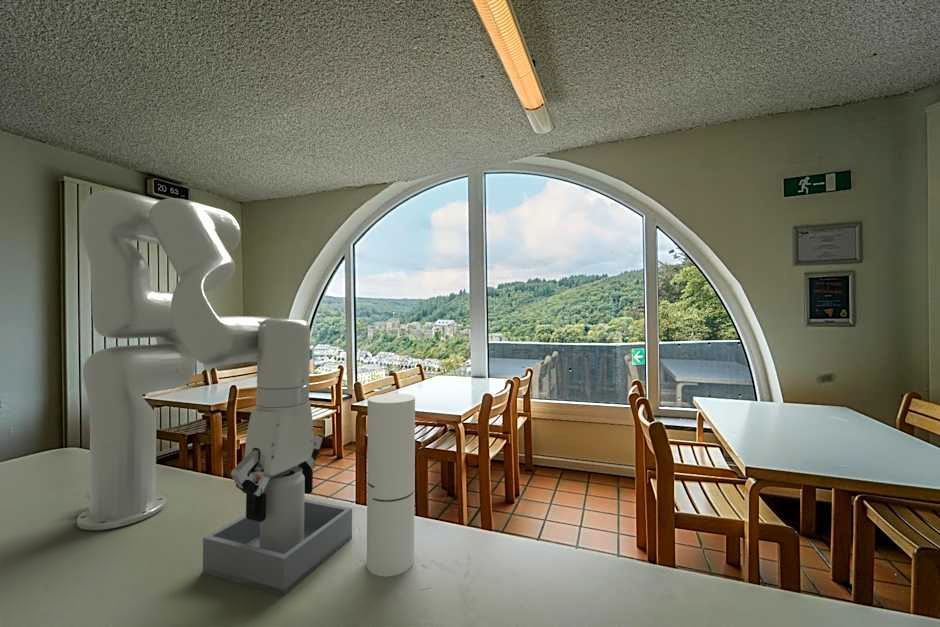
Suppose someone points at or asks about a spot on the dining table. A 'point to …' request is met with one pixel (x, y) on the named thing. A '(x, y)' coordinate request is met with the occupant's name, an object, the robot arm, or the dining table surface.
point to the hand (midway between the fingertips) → (281, 504)
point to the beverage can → (283, 511)
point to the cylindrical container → (390, 483)
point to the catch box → (271, 571)
